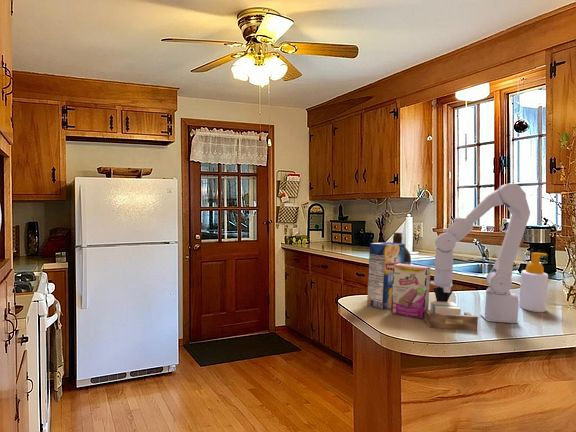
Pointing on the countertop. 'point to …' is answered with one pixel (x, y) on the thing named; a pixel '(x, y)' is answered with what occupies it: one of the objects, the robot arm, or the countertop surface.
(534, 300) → the soap bottle
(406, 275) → the candy bar box
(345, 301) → the countertop surface
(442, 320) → the display stand
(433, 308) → the carton
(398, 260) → the beverage box
